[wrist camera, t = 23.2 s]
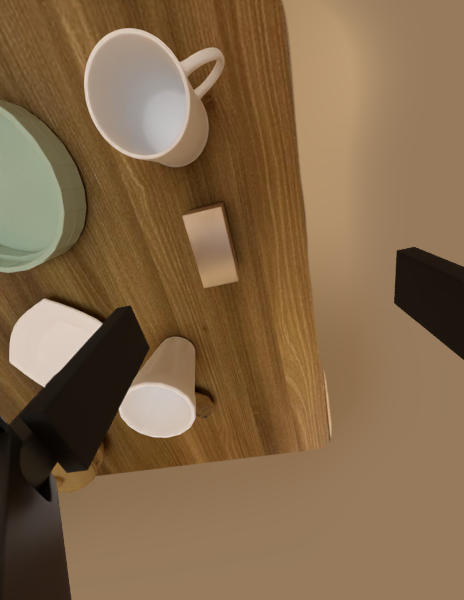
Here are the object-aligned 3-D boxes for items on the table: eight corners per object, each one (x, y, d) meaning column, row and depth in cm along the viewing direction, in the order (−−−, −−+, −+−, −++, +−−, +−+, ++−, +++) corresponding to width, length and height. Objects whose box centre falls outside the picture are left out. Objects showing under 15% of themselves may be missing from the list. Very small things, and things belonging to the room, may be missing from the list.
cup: (217, 344, 44) (210, 406, 32) (187, 380, 48) (171, 448, 36) (166, 315, 42) (138, 370, 30) (139, 355, 45) (104, 418, 33)
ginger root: (152, 399, 50) (146, 415, 47) (186, 372, 47) (182, 387, 43) (190, 425, 53) (187, 441, 50) (224, 401, 50) (223, 417, 46)
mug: (210, 44, 27) (193, -43, 16) (245, 129, 30) (250, 104, 20) (121, 107, 30) (55, 68, 19) (163, 180, 33) (127, 182, 22)
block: (191, 208, 34) (182, 215, 29) (223, 200, 34) (221, 206, 28) (208, 271, 38) (203, 288, 32) (238, 264, 38) (238, 281, 32)
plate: (45, 278, 39) (36, 283, 37) (153, 345, 44) (149, 352, 42) (4, 355, 46) (-6, 362, 44) (101, 406, 51) (96, 414, 49)
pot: (47, 438, 56) (10, 489, 47) (68, 409, 51) (33, 458, 42) (96, 460, 59) (71, 512, 50) (121, 434, 55) (98, 485, 46)
